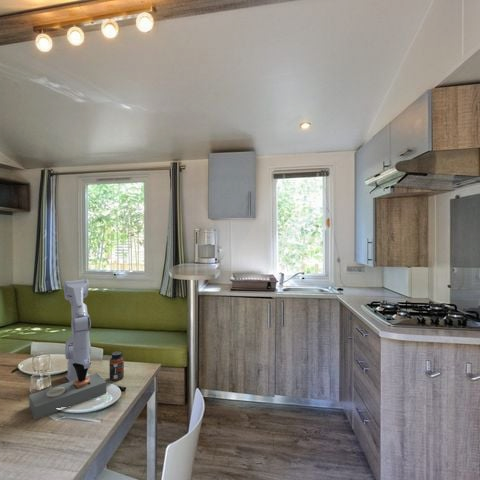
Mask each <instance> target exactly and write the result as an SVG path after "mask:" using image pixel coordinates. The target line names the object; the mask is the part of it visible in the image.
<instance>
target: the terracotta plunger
mask: <svg viewBox="0 0 480 480" xmlns="http://www.w3.org/2000/svg"><path fill="white" fill-rule="evenodd" d="M88 382H90V378H89V377H86V378H85V380H84V381H81V382H79V381H78V379H76V380H74V381H73V385H75V386H76V389H78V388H81V387H84V386H86V385H88Z"/></svg>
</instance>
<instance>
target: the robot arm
mask: <svg viewBox="0 0 480 480" xmlns="http://www.w3.org/2000/svg"><path fill="white" fill-rule="evenodd" d="M89 288H90V287H89V279H87V278H85V279H76V280H65V281H63V292H64V294H63V295H64V300H66V301H69V303H70V307H71V308H70V310H71V313H70V314H71V320H70V322H71V324H70V326H71V327H70V328H71V337H69V339H67V340H66V342H65V346H64V347H65V349H64V350H65V351H64V352H65V353H64V354H65V360H67V374H65V378H66V379H67V380H68V382H71V381H74V380H76V379H78V381H79V382H81V381H84V380H85V378H86V376H89V375H90V374H89V373H88V371H89V368H91V362H90V360H91V356H90V355H91V353H92V347H91V340H90V330H91V326H92V325H91V318H90V317H91V316H90V314H88V306H87V304H86V303H84V299H85V298H87V297H88V294H89V291H90V290H89Z"/></svg>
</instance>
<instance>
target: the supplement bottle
mask: <svg viewBox="0 0 480 480" xmlns="http://www.w3.org/2000/svg"><path fill="white" fill-rule="evenodd" d="M124 359H125V358H124V357H123V356H122V352H121V351H115V352H112V353H111V358H109V380H110V381H113V382H116V381H120V380H122V379H123V378H124V377H125V376H124V375H125V361H124Z"/></svg>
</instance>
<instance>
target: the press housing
mask: <svg viewBox="0 0 480 480" xmlns="http://www.w3.org/2000/svg"><path fill="white" fill-rule="evenodd" d="M86 377H89V378H90V382H88V385H86V386H84V387H81V388H78V389H76V386H75V385H73V381H71V382H70V381H68V382H65V383H62V384H59V385H55V386H53V387H50V388H47V389H44V390H41V391H40V390H39V391H38V392H34V393H31V394H29V395H28V400H29V401H28V403H29V405H28V407H29V409H30V411H31V413H32V416H33V418H34V420H35V421H36V420H39V419H43V418H44V417H47V416H49V415H52V414H55V413H57V412H59V411H58V410H57V409H56V408H61V407H68V408H70V407H69V406H71V407H73V406H76V405H79V404H81V403H84V402H86V401H87V402H88V401H89V400H92V399H95V398H97V397H100V396H102V395H104V394H105V395H106V394H107V381H106V380H104V378H103V377H101V376H100V374H98V373H97V372H96V373H93V374H89V376H86ZM57 387H64V388H65V392H64V393H63V394H61V395H59V396H55V397H51V398H49V397H47V394H46V393H47V392H48V391H49V390H51V389H53V388H57Z"/></svg>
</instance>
